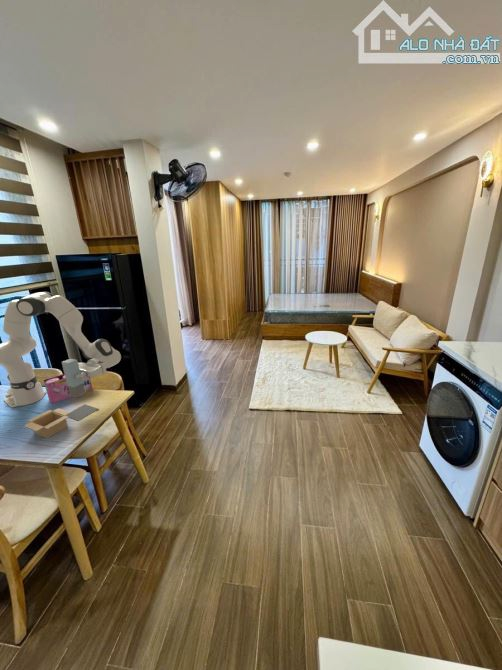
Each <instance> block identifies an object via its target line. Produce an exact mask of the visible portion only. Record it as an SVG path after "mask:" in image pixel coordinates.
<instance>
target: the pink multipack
mask: <svg viewBox="0 0 502 670" xmlns="http://www.w3.org/2000/svg"><path fill="white" fill-rule="evenodd" d="M81 378H82V382H83V386H84V390H85V393H87V392H89V391H93V386H92V385H93V384H92V380H91V377H87V376H84V377H81ZM43 383H44V386H45V391H46V395H47V398H48V400H49V402H50V403H51V404H52V405H53V404H55V403H59V402H61V401H64V400H66V399H69V398H72V397H73V396H70V393H69V389H68V385H67V381H66V378H65V374H64V373H63V374H60V375H57V376H53V377H50V378H49V377H48V378H46V379H43ZM86 391H87V392H86Z"/></svg>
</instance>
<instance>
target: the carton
mask: <svg viewBox="0 0 502 670" xmlns="http://www.w3.org/2000/svg"><path fill="white" fill-rule="evenodd" d="M70 413H71V411H68V410H66V409H62V408H58V407H57V408H56V409H53V410H51V409H48V410H46V411H43V412H42V413H39V414H38V415H36V416H34V417H32V418H30V419H27V422H29V423H27V424H24V425H23V426H24V427H25V428H28V429H29V430H31V431H33V432H34V434H36V435H37V436H38V435H39V436H40V437H42V438H45V439H48V438H50V437H52V436H54V435H55V434H57V433H58V432H59V433H60V431H62V430H64V429H66V428H68V427H69V426H68V421H67V419H70V418H69V417H68V416H66V415H68V414H70Z"/></svg>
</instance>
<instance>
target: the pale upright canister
mask: <svg viewBox="0 0 502 670" xmlns="http://www.w3.org/2000/svg"><path fill="white" fill-rule="evenodd" d="M78 363H79V362H78V359H76V358H75V359H74V358H69V359H66V360H63V361H61V365H62V369H63V374H65V378H66V381H67V385H68V389H69V393H70V396H72V397H74V398H78V397H79V396H82V395H84V394H85V393H86V392H85V390H84V386H83V382H82V378H81V377H79V378H75V377H74V375H76V374H80V370H79V365H78Z"/></svg>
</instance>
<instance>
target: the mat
mask: <svg viewBox="0 0 502 670" xmlns="http://www.w3.org/2000/svg"><path fill="white" fill-rule="evenodd" d="M99 409H100V408H98V407H94V406H92V405H88V404H86V403H85V404H82V405H81V406H79V407H77V408H75V409H73V410H71V411H70V412H71V413H70V414H68V415H66V416H68V417H69V418H68V419H72V420H74V421H77V422H79V421H81V420H84V418H86V417H88V416H89V415H91V414H93V413H95V412H97V411H99Z"/></svg>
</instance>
